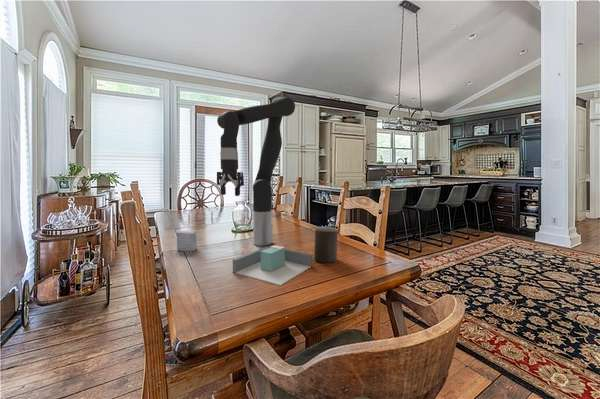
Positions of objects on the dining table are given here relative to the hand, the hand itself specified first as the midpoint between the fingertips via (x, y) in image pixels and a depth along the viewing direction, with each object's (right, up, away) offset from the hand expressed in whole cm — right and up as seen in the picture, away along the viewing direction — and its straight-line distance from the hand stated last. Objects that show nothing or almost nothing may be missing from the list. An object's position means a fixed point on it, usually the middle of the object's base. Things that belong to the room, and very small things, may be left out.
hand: (230, 195), depth 125 cm
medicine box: (-23, -26, +8) cm, 35 cm away
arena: (+21, -29, -16) cm, 39 cm away
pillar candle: (+42, -28, -5) cm, 51 cm away
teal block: (+21, -28, -15) cm, 38 cm away
